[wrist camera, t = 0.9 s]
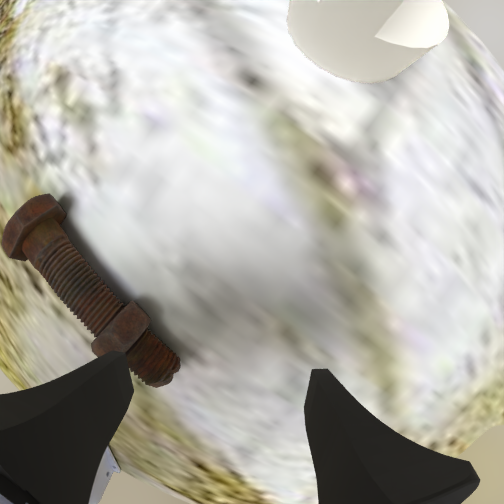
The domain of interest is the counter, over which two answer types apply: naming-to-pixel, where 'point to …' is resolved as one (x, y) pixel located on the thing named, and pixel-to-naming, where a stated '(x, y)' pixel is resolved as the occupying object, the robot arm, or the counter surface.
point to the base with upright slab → (366, 35)
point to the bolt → (86, 291)
